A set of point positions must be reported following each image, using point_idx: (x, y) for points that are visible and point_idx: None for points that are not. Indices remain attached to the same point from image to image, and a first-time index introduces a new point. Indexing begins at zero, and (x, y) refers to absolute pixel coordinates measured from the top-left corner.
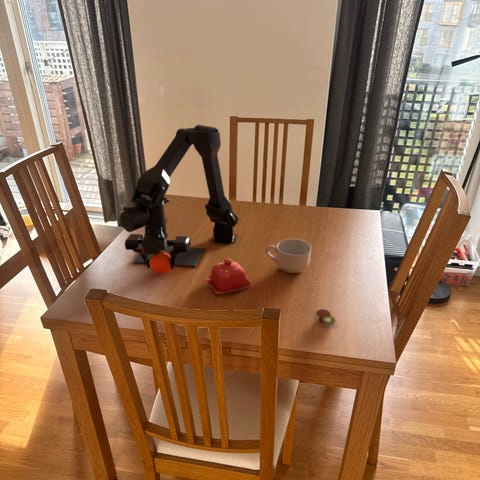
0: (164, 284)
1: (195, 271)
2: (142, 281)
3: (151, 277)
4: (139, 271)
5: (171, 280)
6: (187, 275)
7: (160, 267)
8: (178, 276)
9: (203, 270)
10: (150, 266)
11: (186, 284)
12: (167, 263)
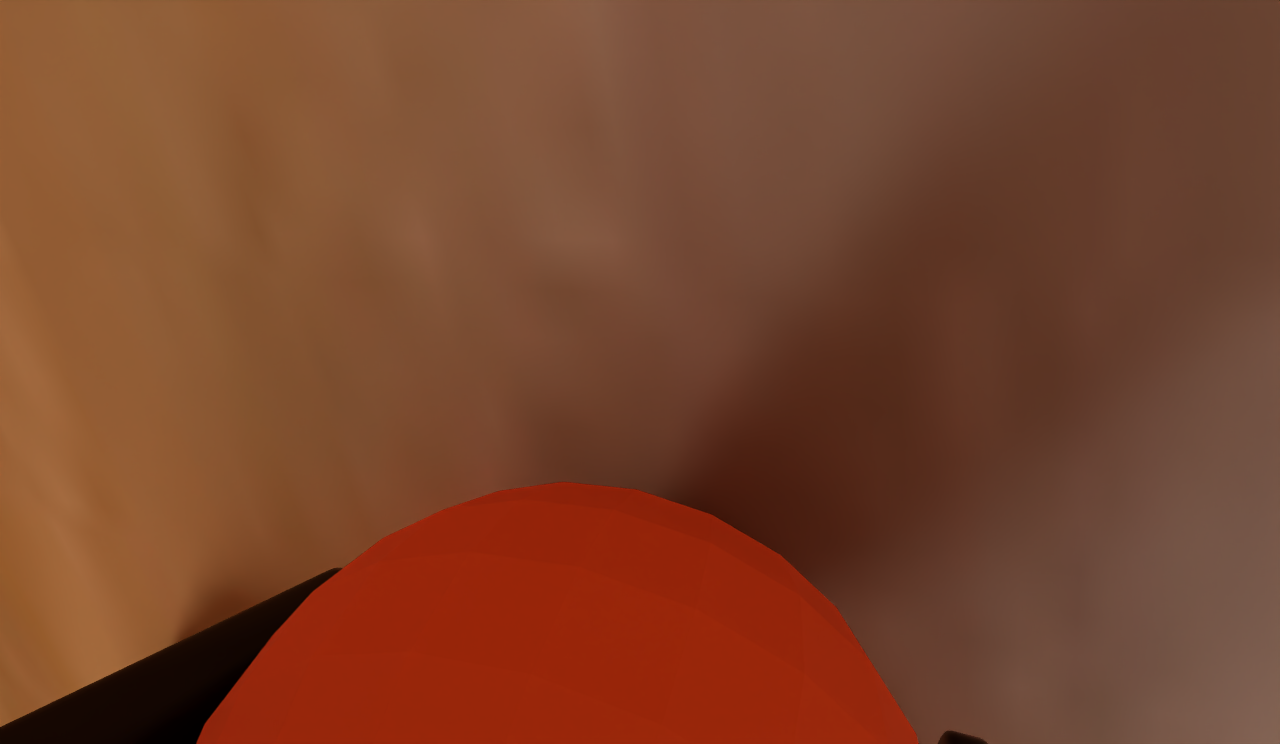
0: (462, 12)
1: (108, 537)
2: (1178, 188)
3: (877, 411)
4: (1226, 724)
5: (362, 238)
6: (158, 425)
7: (475, 557)
8: (288, 403)
9: (25, 548)
10: (906, 739)
11: (5, 46)
12: (232, 698)
